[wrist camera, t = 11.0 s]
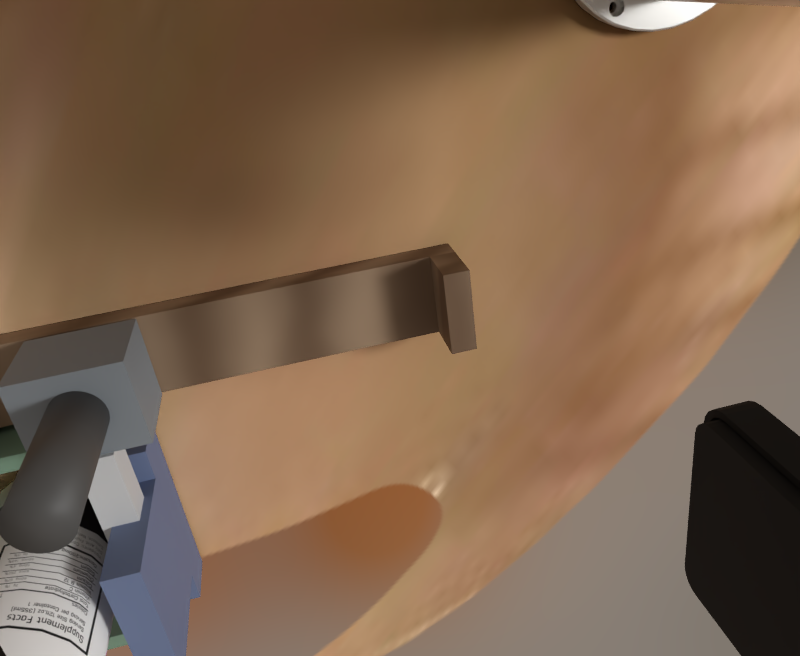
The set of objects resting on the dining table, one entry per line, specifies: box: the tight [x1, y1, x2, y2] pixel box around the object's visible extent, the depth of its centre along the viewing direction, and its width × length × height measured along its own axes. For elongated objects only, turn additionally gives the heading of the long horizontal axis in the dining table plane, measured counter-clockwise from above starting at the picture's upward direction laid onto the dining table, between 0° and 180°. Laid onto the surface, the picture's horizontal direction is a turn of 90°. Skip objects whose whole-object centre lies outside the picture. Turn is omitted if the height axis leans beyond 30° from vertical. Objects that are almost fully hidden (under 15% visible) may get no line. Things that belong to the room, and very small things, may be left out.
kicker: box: [0, 319, 202, 656], centre depth 38 cm, size 6×20×14 cm, turn 8°
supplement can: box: [0, 481, 114, 656], centre depth 39 cm, size 8×8×15 cm
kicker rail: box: [0, 244, 477, 427], centre depth 40 cm, size 30×5×4 cm, turn 98°
